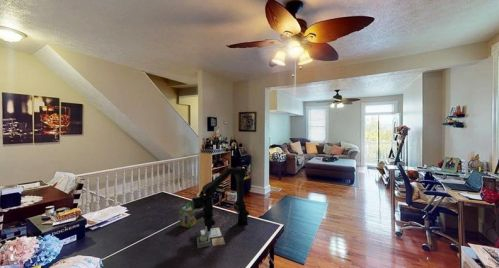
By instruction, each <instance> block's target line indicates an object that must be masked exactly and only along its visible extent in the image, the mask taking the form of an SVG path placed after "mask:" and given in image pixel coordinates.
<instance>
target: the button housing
mask: <svg viewBox="0 0 499 268" xmlns="http://www.w3.org/2000/svg"><path fill="white" fill-rule="evenodd" d="M196 245H197V247H196V248H197V249H200V248H201V249H202V248H205V247H211V238H209V235H208V236H207V241H206V242H200V236H197V237H196Z"/></svg>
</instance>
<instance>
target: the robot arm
mask: <svg viewBox="0 0 499 268" xmlns="http://www.w3.org/2000/svg"><path fill="white" fill-rule="evenodd" d="M246 173H247V171H246V169H245V167H244V168H243V167H241V166H235V167H229V166H228V167H226V168H225V169H224V170H223V171H222V172H221V173H220V174H219V175H217V176H216V177H215V178H214V179H213V180H211V181H210V182H208V183H206V184H205V185H203V186H202V189H201V191H200V192H199V194H198V196H196V197H195V196H194V197H192V198H191V200H190V205H191V208H192V210H194V209H200V210H198V211H197V212H195V213H194V216H195V219H196V220H200V219H201V218H202V219H203V224H204V227H205V226H207V229H208V232H210V230H211V229H212V227H213V226H215V225H216V219H215V217H214V205H213V204H214V199H216V198H217V196H216V195H215V192H216V191H217V189H218V187H219V186H220V185H221V184H222V183H223V182H224V181H225V180H227V178H228V177H230V176H231V175H233V176H234V177H235V181H236V182H235V183H236V185H235V186H236V200H235V202H233V210H234V212H235V213H236V214H237V215H236V222H237V224H238V225H239V226H244V225H248V224H249V223H248V216H249V215H250V212H249V211H248V210H247V205H246V203H245V201H244V180H245V178H246ZM201 208H202V209H201Z"/></svg>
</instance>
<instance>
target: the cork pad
mask: <svg viewBox="0 0 499 268" xmlns="http://www.w3.org/2000/svg"><path fill="white" fill-rule="evenodd" d="M210 241H211V244H212V247H217V246H223V245H226V242H225V239H224V237H223V236H220V237H214V238H210Z"/></svg>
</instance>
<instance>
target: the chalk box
mask: <svg viewBox="0 0 499 268" xmlns="http://www.w3.org/2000/svg"><path fill="white" fill-rule="evenodd" d="M198 209H199V208H198ZM198 209H194V210H192V208H191V201H189V202H186V203H185V205H184V206H183V207H181V208H179V210H178V211H179V212H178V213H179V226H181V227H184V228H188V229H190V228H192V227H193V226H194V225H196V224H198V223H199V221H198V220H199V219H198V220H196V219H195V216H194V213H195V212H197V211H199V210H198Z"/></svg>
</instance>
